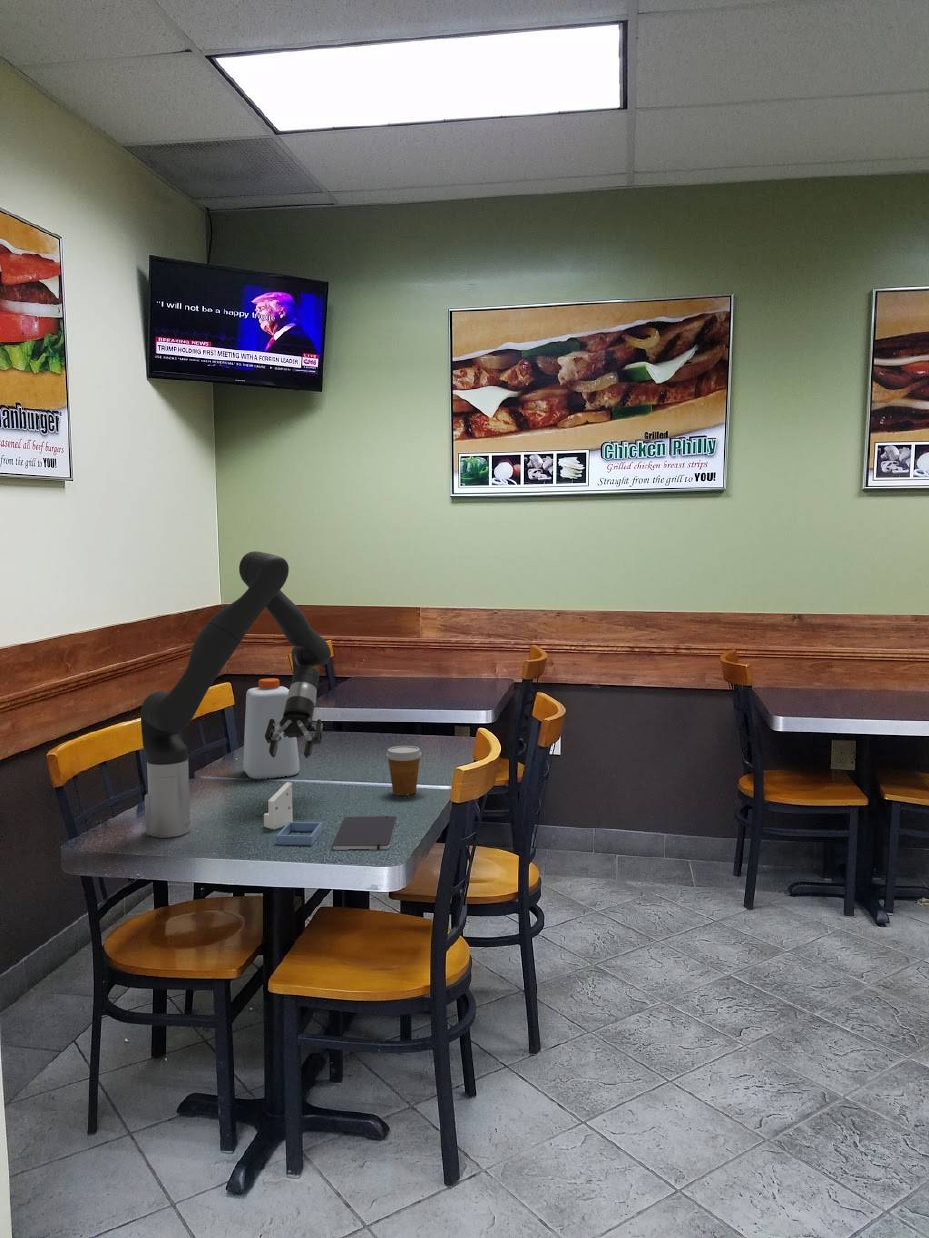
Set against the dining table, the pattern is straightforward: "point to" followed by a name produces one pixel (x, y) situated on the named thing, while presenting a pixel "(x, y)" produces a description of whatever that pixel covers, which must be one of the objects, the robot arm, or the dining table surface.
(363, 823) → the notebook
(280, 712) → the plastic bottle
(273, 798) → the white angled block
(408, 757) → the disposable coffee cup
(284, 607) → the robot arm
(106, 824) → the dining table surface
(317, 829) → the blue rectangular frame
